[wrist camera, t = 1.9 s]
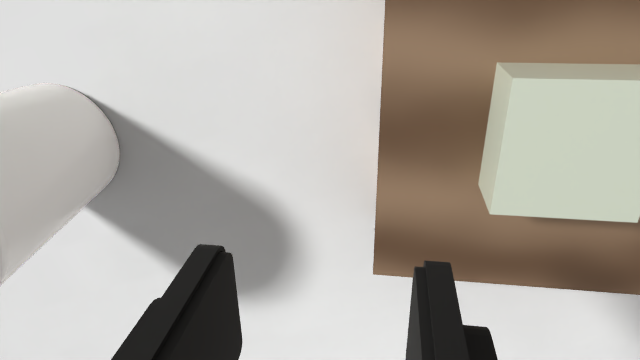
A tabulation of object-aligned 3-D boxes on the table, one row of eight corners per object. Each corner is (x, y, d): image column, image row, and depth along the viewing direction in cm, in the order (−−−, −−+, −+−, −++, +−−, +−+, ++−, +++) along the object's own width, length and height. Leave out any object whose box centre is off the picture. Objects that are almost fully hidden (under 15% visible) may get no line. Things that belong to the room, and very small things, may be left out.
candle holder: (51, 39, 29) (-147, 86, 18) (159, 157, 32) (40, 258, 21) (-26, 123, 33) (-230, 203, 22) (76, 223, 35) (-62, 337, 25)
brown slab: (696, 240, 29) (766, 304, 23) (376, 220, 31) (372, 274, 26) (831, -92, 21) (983, -110, 15) (390, -80, 24) (389, -92, 18)
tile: (607, 190, 22) (637, 222, 19) (478, 184, 23) (489, 214, 20) (644, 64, 19) (684, 81, 17) (496, 62, 20) (513, 78, 17)
